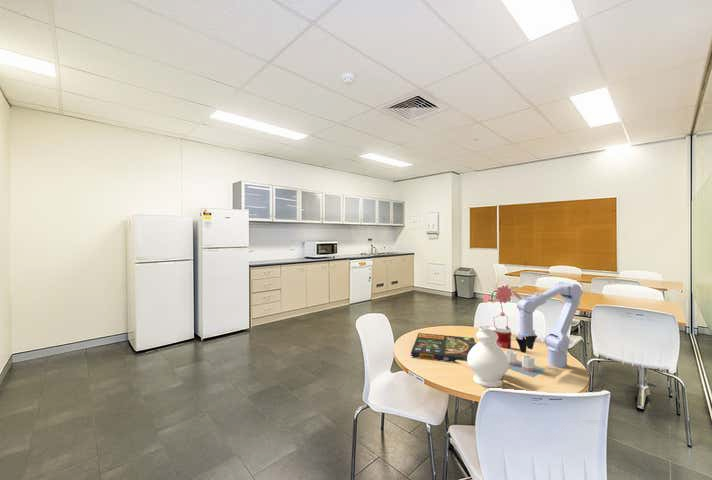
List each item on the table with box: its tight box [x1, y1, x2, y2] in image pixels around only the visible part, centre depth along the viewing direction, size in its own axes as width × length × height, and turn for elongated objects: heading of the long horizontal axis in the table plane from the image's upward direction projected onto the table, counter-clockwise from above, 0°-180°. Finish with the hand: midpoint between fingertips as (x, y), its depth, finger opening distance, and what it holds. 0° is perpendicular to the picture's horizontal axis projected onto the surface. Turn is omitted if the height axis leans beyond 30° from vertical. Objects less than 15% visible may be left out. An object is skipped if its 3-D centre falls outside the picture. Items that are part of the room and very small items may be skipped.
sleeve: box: [521, 354, 535, 371], centre depth 149 cm, size 5×5×6 cm
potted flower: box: [482, 284, 522, 336], centre depth 201 cm, size 15×26×35 cm, turn 98°
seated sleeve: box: [504, 349, 518, 366], centre depth 156 cm, size 5×5×6 cm
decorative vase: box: [466, 324, 509, 388], centre depth 140 cm, size 18×18×25 cm
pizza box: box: [410, 332, 476, 363], centre depth 180 cm, size 35×35×4 cm
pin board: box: [508, 359, 547, 378], centre depth 152 cm, size 14×19×4 cm
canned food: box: [495, 328, 512, 350], centre depth 181 cm, size 8×8×11 cm
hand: (526, 350), depth 152 cm, fingers open, 7 cm apart
